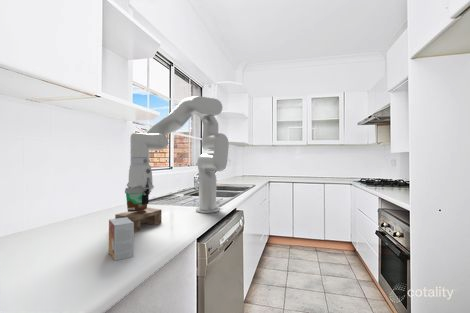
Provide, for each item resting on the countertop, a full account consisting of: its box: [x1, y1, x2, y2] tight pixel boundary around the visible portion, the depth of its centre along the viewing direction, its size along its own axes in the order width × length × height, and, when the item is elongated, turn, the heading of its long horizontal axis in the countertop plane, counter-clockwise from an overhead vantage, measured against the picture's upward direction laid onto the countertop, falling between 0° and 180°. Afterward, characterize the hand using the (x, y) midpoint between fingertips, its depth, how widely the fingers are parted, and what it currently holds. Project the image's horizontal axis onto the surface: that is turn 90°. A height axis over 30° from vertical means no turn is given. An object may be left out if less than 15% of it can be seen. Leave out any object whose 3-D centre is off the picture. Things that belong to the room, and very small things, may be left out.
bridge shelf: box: [114, 207, 163, 233], centre depth 106 cm, size 16×10×6 cm, turn 153°
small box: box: [108, 217, 135, 262], centre depth 76 cm, size 8×6×10 cm
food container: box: [124, 187, 148, 212], centre depth 106 cm, size 12×6×10 cm, turn 165°
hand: (139, 203), depth 106 cm, fingers closed on food container, 5 cm apart
